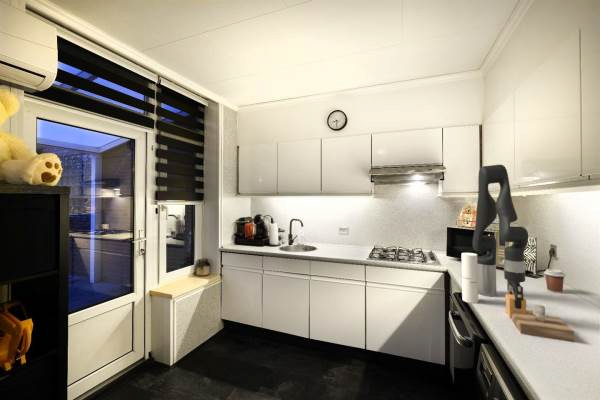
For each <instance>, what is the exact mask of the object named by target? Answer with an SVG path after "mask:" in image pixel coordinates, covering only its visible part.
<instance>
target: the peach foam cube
mask: <svg viewBox="0 0 600 400" xmlns="http://www.w3.org/2000/svg"><path fill="white" fill-rule="evenodd" d="M518 297H519V296H518ZM523 299H524V300H523V301H521V309H517V308H515V299H514V295H512V294H509V293H505V314H506V315H507V316H508V317H509V319H512V312H516V313H523V314H531V315H534V311H533V310H530V309H527V300H526V298H525V297H524V296H523Z"/></svg>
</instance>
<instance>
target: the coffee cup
mask: <svg viewBox="0 0 600 400" xmlns="http://www.w3.org/2000/svg"><path fill="white" fill-rule="evenodd" d="M543 274H544V275H545V283H546V289H547V291H548V292H550V293H554V294H562V293H563V291H564V280H565V278H566V274H565V273H564V272H563V271H562V270H561V269H555V268H546V270H545V271H543Z"/></svg>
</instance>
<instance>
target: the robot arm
mask: <svg viewBox="0 0 600 400" xmlns="http://www.w3.org/2000/svg"><path fill="white" fill-rule="evenodd" d="M477 180H478V181H477V182H478V191H477V192H478V193H477V195H478V196H477V203H476V211H475V213H476V214H475V225H474V232H473V237H472V248H473V250H474V251H475V252H481V253H482V252H484V253H486V254H483V255H481V256H477V266H478V295H482V296H487V297H497V239H496V237H495V236H494V235H483V234H484V232H485V231H486V229H487V228H489V226H490V225H492V224H493V223H494V222H495V220H496V219H497V216H498V235H499V238H500V239H501V240H502V241H503V242H505V243H512V244H511V245H510V246H506V247H505V248H504V261H503V262H504V263H503V274H504V275H503V277H504V279H505V280H506V283H507V287H506V288H507V289H506V290H507V291H508V294H512V295H514V299H515V308H517V309H521V301H523V300H524V299H523V297H524V287H523V286H522V285H521V283H524V282H526V265H525V264H526V263H525V249H526V246H527V243H528V241H529V233H528V230H527V229H526V228H525V227H523V226H511V223H514V222H516V221H518V215H517V211H516V209H515V205H514V203H513V198H512V193H511V185H510V179H509V173H508V170H507V168H506V167H505V165H503V164H492V165H484V166H483V165H482V166H481V167H480V168H479V171H478V179H477ZM490 184H499V188H500V190H499V194H498V197H497V199H496V200H495V199H494V198H493V196H492V195H491V192H490V191H489V185H490ZM518 296H519V297H518Z"/></svg>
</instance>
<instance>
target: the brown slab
mask: <svg viewBox="0 0 600 400" xmlns="http://www.w3.org/2000/svg"><path fill="white" fill-rule="evenodd" d="M534 311H535V312H534V314H533V315H531V314H523V313H516V312H512V318H511V321H512V323H513V325H514V326H515V328H516V329H517V330H518V331H519V333H520V334H521V335H527V336H535V337H541V338H547V339H554V340H560V341H565V342H575V331H574V330H573V329H572V328H571V327H570V326H569V325H568V324H566V323H565V322H564V321H563V320H562V319H561V318H560V317H553V316H547V315H546V307H545V306H544V305H539V304H536V305H535V306H534Z"/></svg>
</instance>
